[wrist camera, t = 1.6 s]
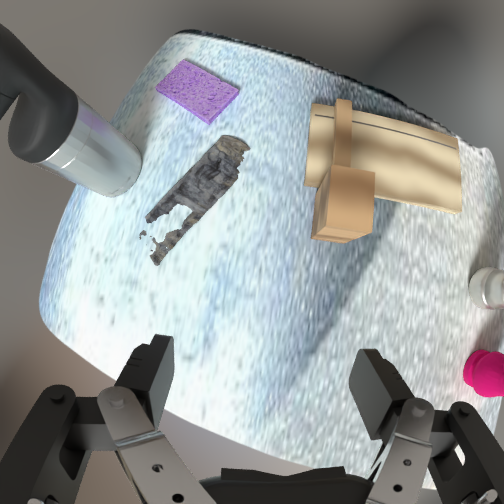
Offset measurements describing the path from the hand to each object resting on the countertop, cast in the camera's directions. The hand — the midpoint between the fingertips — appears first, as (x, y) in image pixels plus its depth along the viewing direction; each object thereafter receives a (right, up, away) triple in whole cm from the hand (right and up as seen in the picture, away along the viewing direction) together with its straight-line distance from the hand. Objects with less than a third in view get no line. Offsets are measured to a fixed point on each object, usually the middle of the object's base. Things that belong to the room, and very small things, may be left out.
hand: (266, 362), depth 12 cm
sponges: (-9, +30, +30) cm, 43 cm away
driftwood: (-9, +12, +29) cm, 33 cm away
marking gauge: (+11, +15, +27) cm, 33 cm away
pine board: (+19, +18, +27) cm, 37 cm away
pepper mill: (+36, -14, +24) cm, 46 cm away
